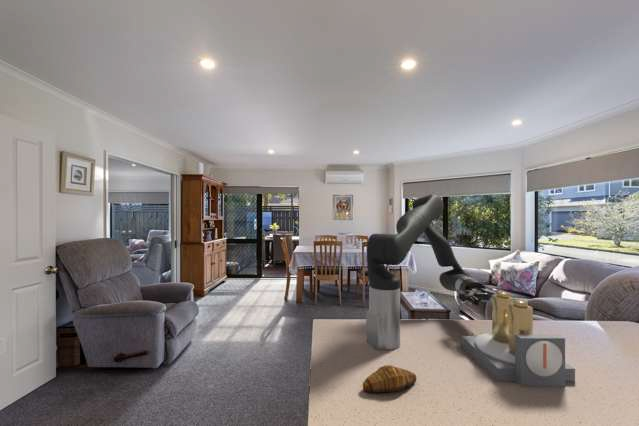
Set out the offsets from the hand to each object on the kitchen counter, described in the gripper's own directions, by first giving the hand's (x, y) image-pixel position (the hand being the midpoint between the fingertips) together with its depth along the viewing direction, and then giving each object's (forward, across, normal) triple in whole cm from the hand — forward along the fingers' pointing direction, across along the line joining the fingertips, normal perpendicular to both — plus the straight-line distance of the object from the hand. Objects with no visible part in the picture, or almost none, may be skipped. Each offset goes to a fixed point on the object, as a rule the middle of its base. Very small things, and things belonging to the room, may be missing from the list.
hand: (492, 303), depth 86 cm
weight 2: (+14, 0, +8) cm, 16 cm away
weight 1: (+6, 0, +8) cm, 10 cm away
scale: (+11, 0, +12) cm, 17 cm away
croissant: (+25, -34, +13) cm, 44 cm away
